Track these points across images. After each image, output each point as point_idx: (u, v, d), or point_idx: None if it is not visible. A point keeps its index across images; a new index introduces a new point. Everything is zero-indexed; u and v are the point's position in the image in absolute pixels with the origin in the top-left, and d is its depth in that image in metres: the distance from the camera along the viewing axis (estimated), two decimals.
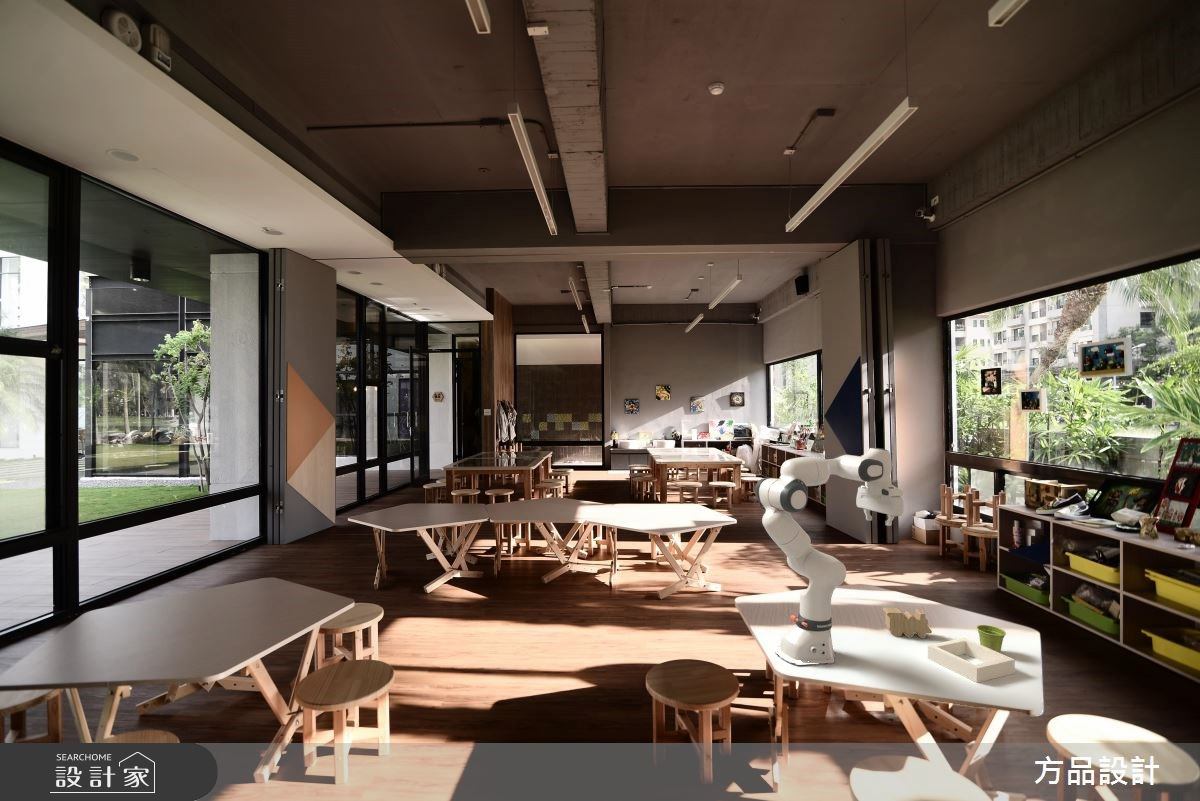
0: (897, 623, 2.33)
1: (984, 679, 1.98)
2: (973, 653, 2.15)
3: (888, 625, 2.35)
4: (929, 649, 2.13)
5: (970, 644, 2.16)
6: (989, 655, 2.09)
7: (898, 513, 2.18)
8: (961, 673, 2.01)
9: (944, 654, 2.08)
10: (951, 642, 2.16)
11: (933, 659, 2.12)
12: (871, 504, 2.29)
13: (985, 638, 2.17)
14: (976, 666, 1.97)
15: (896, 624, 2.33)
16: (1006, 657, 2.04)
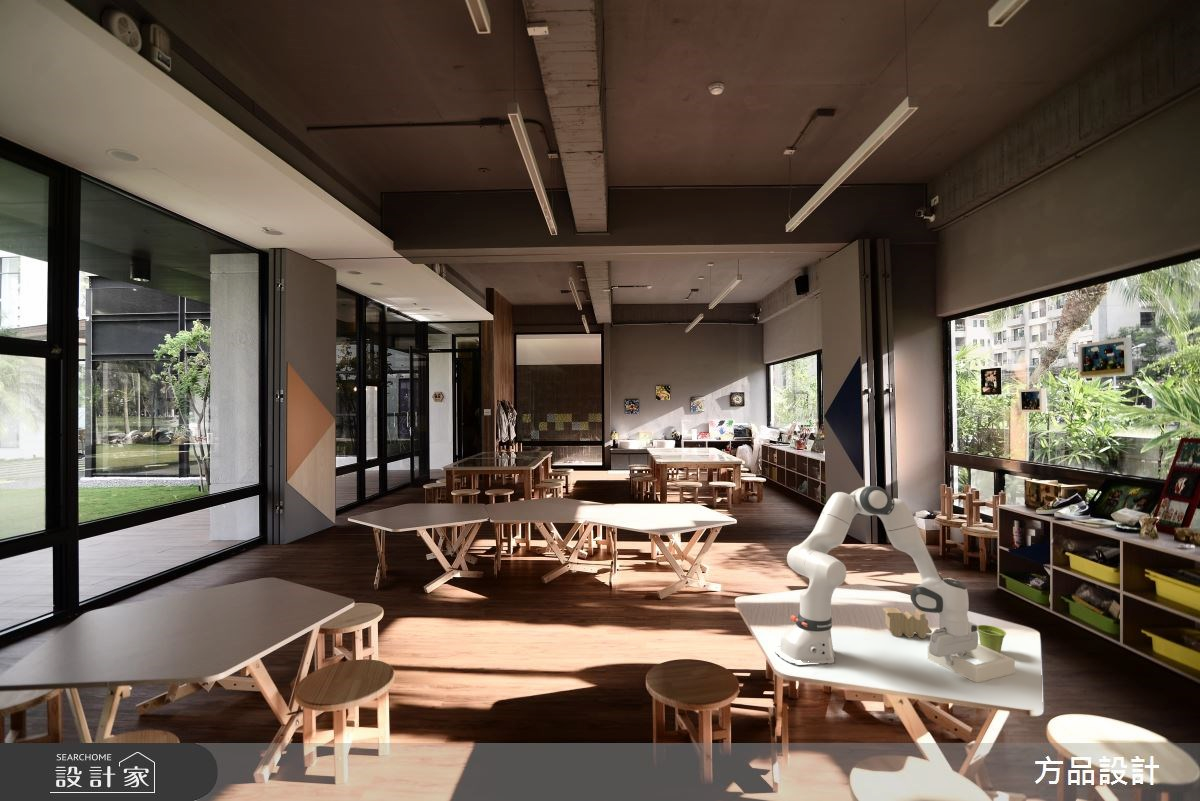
0: (897, 623, 2.33)
1: (984, 679, 1.98)
2: (973, 653, 2.15)
3: (888, 625, 2.35)
4: None
5: None
6: (989, 655, 2.09)
7: None
8: (961, 673, 2.01)
9: None
10: None
11: (933, 659, 2.12)
12: (954, 647, 2.03)
13: (985, 638, 2.17)
14: (976, 666, 1.97)
15: (896, 624, 2.33)
16: (1006, 657, 2.04)
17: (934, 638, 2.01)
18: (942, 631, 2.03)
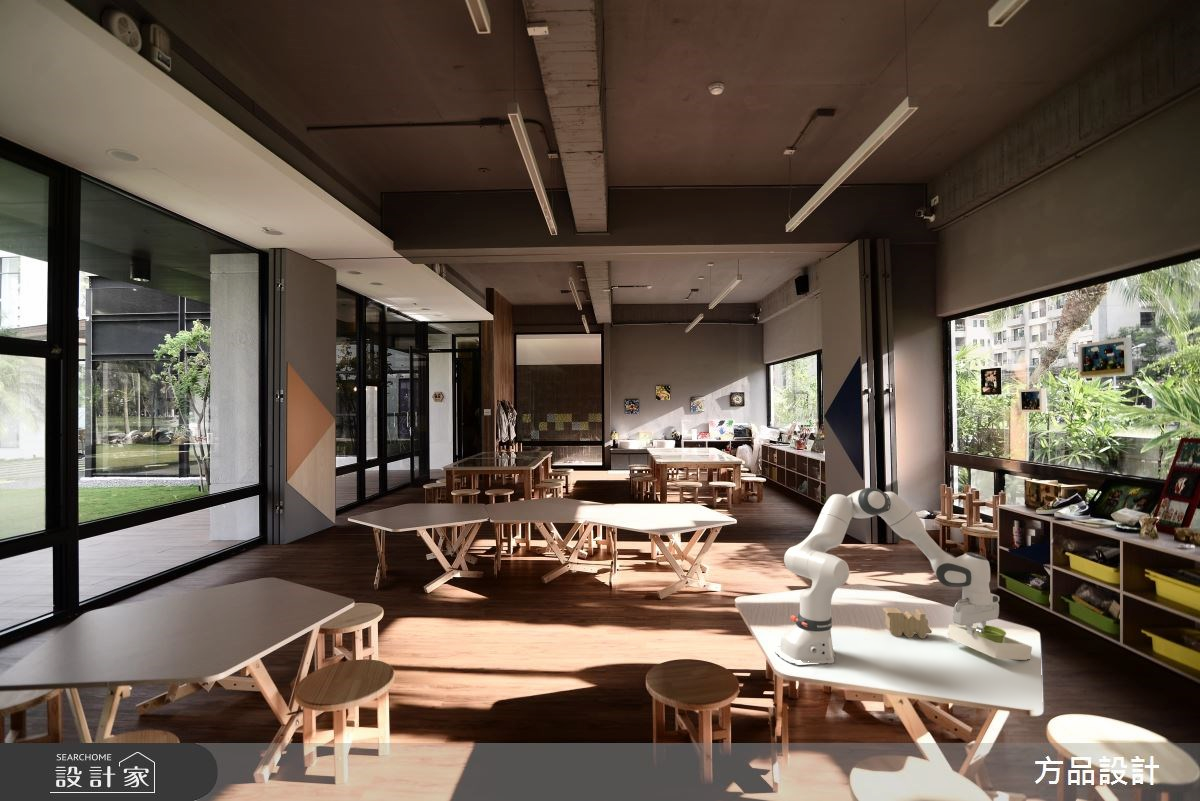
0: (897, 623, 2.33)
1: (1002, 657, 2.08)
2: None
3: (888, 625, 2.35)
4: (950, 628, 2.24)
5: None
6: (1006, 642, 2.20)
7: None
8: (980, 650, 2.12)
9: (965, 632, 2.18)
10: None
11: (953, 637, 2.22)
12: (976, 616, 2.14)
13: None
14: (996, 643, 2.08)
15: (896, 624, 2.33)
16: (1024, 644, 2.15)
17: (958, 608, 2.12)
18: (965, 601, 2.13)
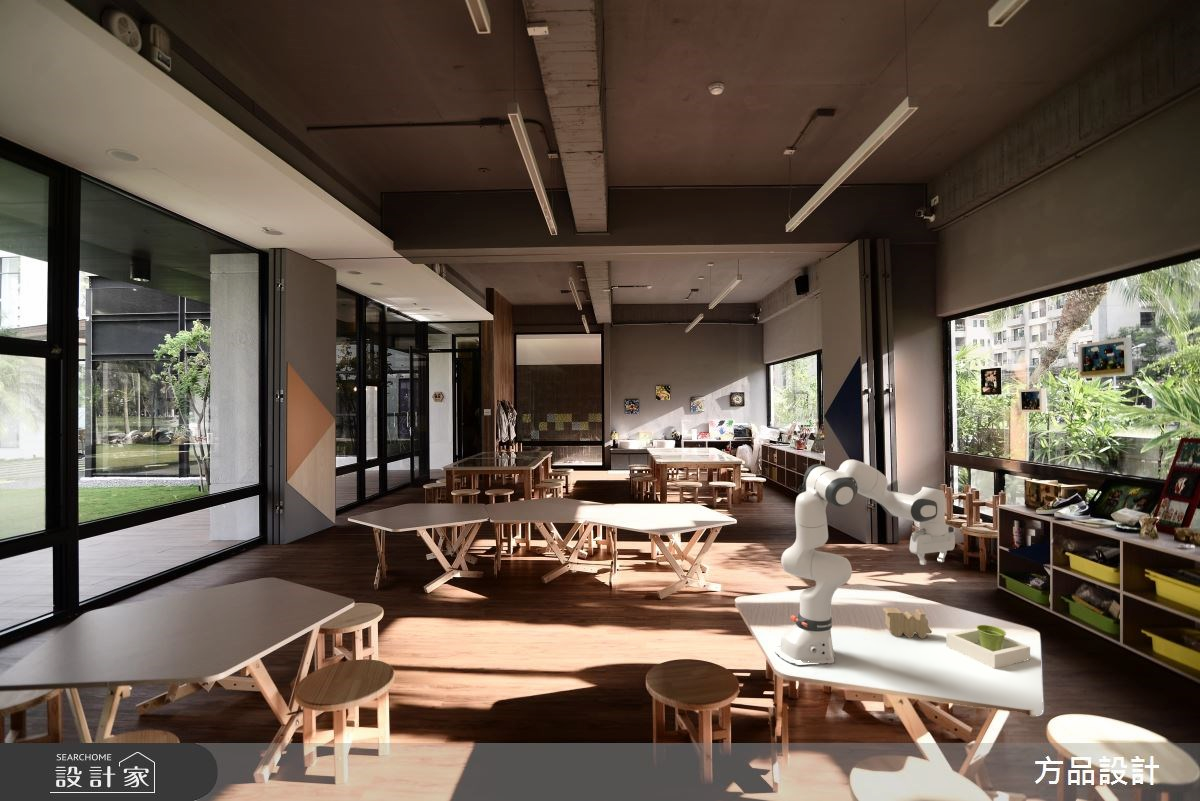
0: (897, 623, 2.33)
1: (1001, 665, 2.08)
2: None
3: (888, 625, 2.35)
4: (948, 637, 2.23)
5: None
6: (1005, 643, 2.19)
7: None
8: (979, 660, 2.12)
9: (962, 642, 2.18)
10: (968, 631, 2.27)
11: (952, 647, 2.22)
12: (932, 546, 2.20)
13: (985, 638, 2.17)
14: (994, 653, 2.08)
15: (896, 624, 2.33)
16: (1022, 645, 2.14)
17: (914, 537, 2.19)
18: (921, 531, 2.20)
